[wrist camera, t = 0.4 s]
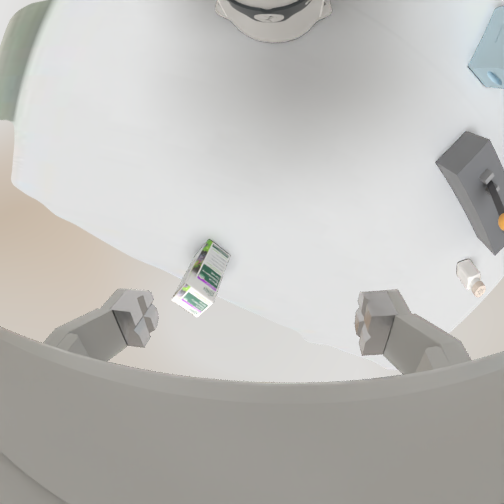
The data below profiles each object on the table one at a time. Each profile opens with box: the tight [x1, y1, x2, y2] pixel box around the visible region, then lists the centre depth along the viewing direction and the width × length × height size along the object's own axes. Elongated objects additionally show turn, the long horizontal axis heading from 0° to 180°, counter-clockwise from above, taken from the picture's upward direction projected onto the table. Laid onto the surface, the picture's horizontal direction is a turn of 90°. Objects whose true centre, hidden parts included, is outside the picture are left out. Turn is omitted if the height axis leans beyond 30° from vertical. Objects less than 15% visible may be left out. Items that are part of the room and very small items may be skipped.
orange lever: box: [487, 180, 504, 231], centre depth 28 cm, size 3×3×12 cm
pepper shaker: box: [457, 259, 486, 297], centre depth 46 cm, size 4×4×10 cm
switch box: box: [436, 132, 504, 255], centre depth 36 cm, size 10×22×10 cm, turn 50°
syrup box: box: [172, 240, 230, 317], centre depth 51 cm, size 6×6×14 cm
